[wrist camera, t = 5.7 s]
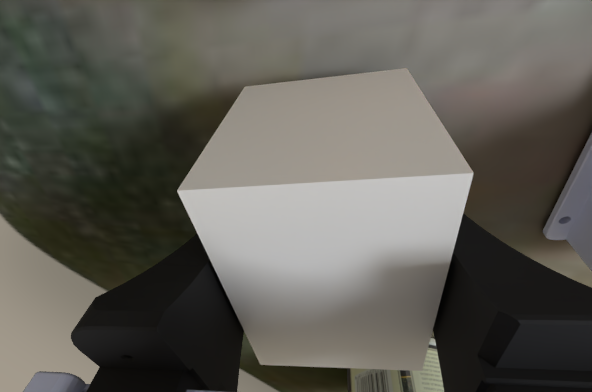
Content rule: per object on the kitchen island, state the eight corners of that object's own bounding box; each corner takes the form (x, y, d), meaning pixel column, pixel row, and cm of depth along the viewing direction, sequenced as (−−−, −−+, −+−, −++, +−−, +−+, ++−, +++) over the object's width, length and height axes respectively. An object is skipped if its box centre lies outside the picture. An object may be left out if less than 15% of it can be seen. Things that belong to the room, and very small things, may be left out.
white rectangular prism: (393, 237, 16) (421, 371, 11) (282, 240, 17) (260, 364, 12) (406, 67, 11) (473, 172, 6) (244, 86, 12) (177, 190, 7)
